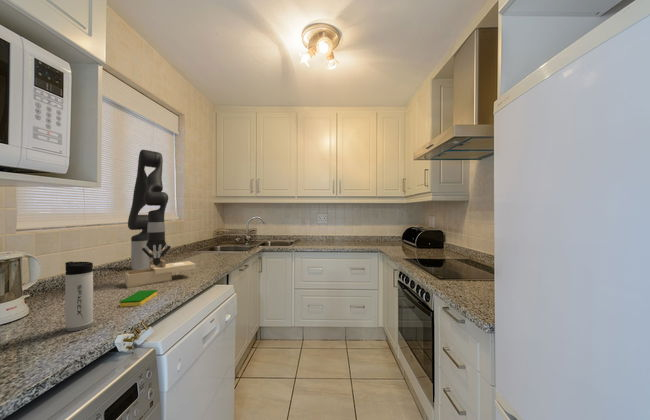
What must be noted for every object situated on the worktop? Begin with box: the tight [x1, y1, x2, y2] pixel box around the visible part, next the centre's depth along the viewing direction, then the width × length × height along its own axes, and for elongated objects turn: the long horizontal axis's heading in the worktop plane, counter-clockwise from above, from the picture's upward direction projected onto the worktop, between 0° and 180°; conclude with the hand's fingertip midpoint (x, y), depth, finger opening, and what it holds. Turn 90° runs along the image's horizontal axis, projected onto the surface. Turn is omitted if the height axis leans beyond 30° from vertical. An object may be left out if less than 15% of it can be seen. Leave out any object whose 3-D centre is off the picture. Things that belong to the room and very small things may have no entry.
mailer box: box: [124, 267, 173, 289], centre depth 133 cm, size 10×18×6 cm, turn 133°
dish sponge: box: [119, 289, 158, 308], centre depth 106 cm, size 7×14×2 cm, turn 8°
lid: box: [149, 258, 197, 274], centre depth 140 cm, size 12×19×5 cm, turn 133°
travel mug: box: [64, 261, 94, 332], centre depth 82 cm, size 6×7×20 cm
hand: (156, 265), depth 135 cm, fingers closed
